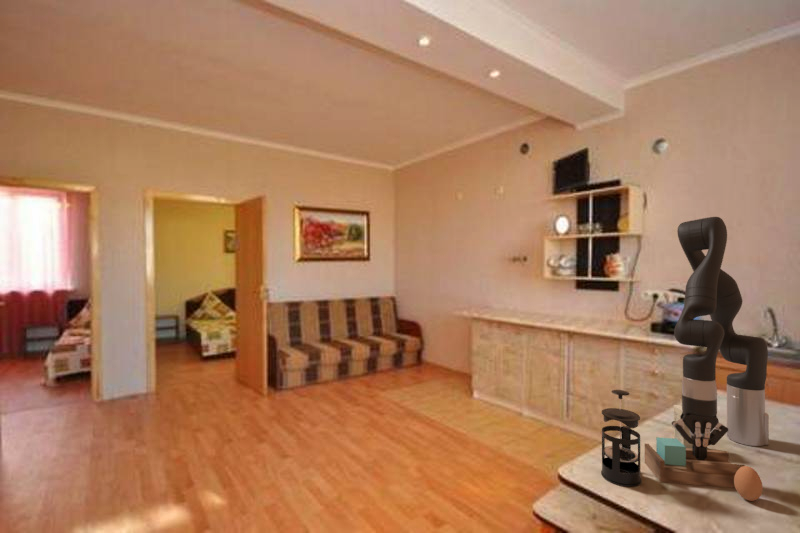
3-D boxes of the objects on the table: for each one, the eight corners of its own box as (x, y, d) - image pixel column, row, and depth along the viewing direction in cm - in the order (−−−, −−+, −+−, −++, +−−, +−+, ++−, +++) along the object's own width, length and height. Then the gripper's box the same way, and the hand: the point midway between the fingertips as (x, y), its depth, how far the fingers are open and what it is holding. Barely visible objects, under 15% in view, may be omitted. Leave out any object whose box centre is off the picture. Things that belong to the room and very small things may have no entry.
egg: (728, 494, 99) (728, 461, 99) (747, 492, 99) (747, 460, 99) (748, 506, 94) (748, 472, 94) (768, 505, 94) (768, 471, 94)
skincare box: (699, 453, 120) (699, 412, 119) (683, 452, 120) (683, 411, 120) (688, 443, 126) (688, 404, 126) (673, 442, 127) (673, 404, 127)
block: (676, 456, 111) (676, 438, 110) (685, 465, 106) (685, 446, 106) (656, 455, 112) (656, 437, 111) (664, 464, 107) (664, 445, 107)
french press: (635, 492, 100) (635, 400, 100) (595, 479, 106) (594, 392, 106) (646, 474, 108) (646, 388, 108) (608, 462, 115) (608, 382, 115)
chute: (724, 468, 111) (724, 449, 111) (748, 489, 101) (748, 467, 101) (644, 462, 114) (644, 443, 114) (660, 481, 105) (660, 460, 105)
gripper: (719, 391, 110) (719, 454, 110) (665, 388, 112) (665, 450, 113) (736, 400, 102) (736, 468, 103) (678, 397, 105) (678, 463, 105)
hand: (699, 458), depth 108 cm, fingers closed
